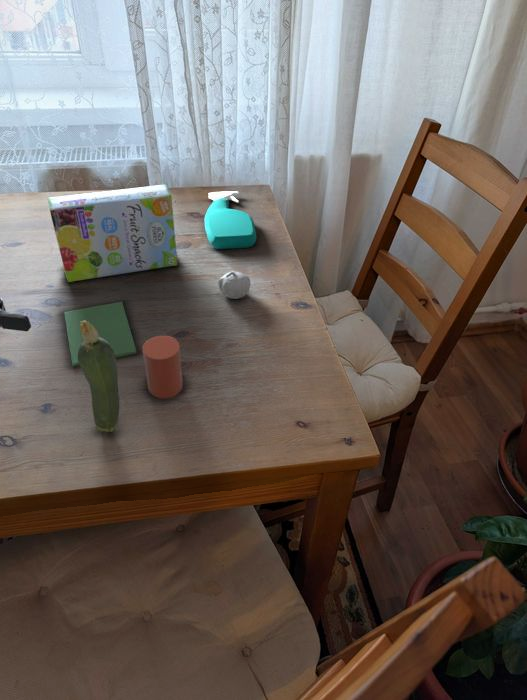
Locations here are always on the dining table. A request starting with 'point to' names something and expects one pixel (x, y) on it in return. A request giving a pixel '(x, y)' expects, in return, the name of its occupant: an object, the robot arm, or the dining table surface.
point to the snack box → (114, 231)
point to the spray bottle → (228, 223)
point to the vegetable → (100, 376)
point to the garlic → (234, 284)
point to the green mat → (101, 328)
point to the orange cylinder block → (163, 366)
